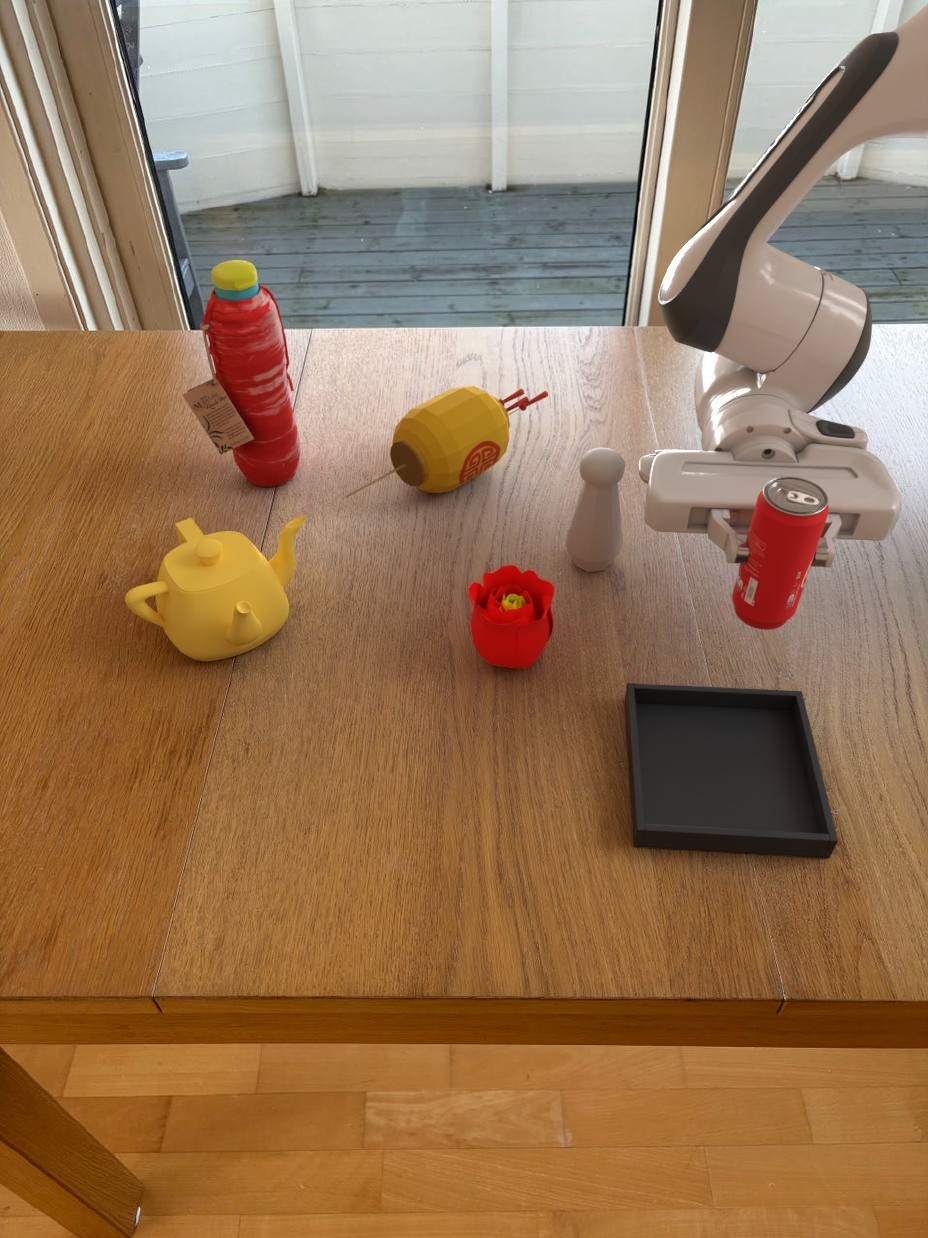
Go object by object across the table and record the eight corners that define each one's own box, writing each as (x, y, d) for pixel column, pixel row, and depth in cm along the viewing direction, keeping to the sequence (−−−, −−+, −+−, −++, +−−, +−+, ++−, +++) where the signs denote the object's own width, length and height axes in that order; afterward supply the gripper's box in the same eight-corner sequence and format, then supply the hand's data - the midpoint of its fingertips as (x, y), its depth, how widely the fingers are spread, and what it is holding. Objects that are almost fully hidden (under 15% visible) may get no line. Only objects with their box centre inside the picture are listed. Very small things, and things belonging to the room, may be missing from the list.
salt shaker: (626, 574, 98) (641, 470, 89) (572, 581, 97) (582, 476, 88) (610, 538, 102) (624, 436, 93) (558, 545, 101) (566, 442, 92)
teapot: (265, 687, 87) (247, 609, 80) (133, 661, 90) (105, 583, 83) (318, 588, 97) (307, 511, 90) (198, 567, 99) (177, 491, 92)
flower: (458, 636, 92) (456, 574, 86) (530, 615, 94) (534, 553, 88) (489, 693, 86) (490, 631, 81) (566, 669, 88) (572, 607, 83)
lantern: (519, 334, 112) (319, 434, 97) (579, 380, 109) (381, 492, 94) (504, 399, 120) (316, 501, 105) (559, 444, 117) (373, 556, 102)
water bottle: (235, 516, 105) (186, 303, 88) (198, 484, 110) (144, 275, 92) (323, 473, 111) (294, 265, 93) (285, 444, 115) (250, 240, 98)
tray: (795, 709, 85) (802, 690, 83) (829, 858, 74) (838, 841, 72) (624, 701, 86) (627, 682, 84) (633, 847, 75) (637, 829, 73)
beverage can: (738, 582, 81) (769, 467, 73) (799, 601, 80) (838, 485, 71) (722, 621, 78) (752, 504, 70) (785, 641, 76) (824, 524, 68)
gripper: (641, 421, 82) (651, 521, 72) (884, 429, 81) (928, 533, 71) (633, 480, 86) (641, 583, 76) (863, 489, 85) (901, 594, 75)
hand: (781, 559), depth 74 cm, fingers closed on beverage can, 5 cm apart
